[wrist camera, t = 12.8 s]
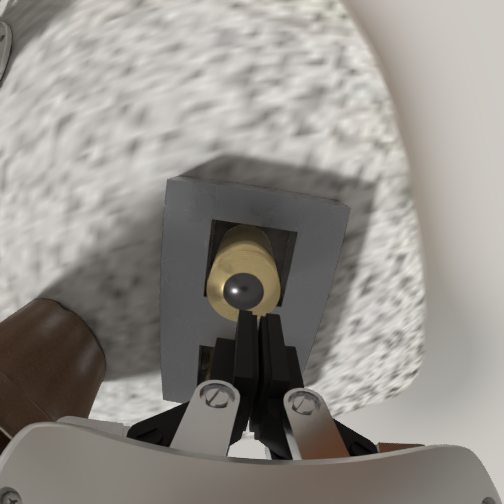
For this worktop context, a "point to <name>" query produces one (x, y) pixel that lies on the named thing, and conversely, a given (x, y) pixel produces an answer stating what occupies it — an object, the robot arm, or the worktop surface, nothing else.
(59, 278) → the worktop surface
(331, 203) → the jig
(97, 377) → the plant pot
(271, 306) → the brass cylinder
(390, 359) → the worktop surface
